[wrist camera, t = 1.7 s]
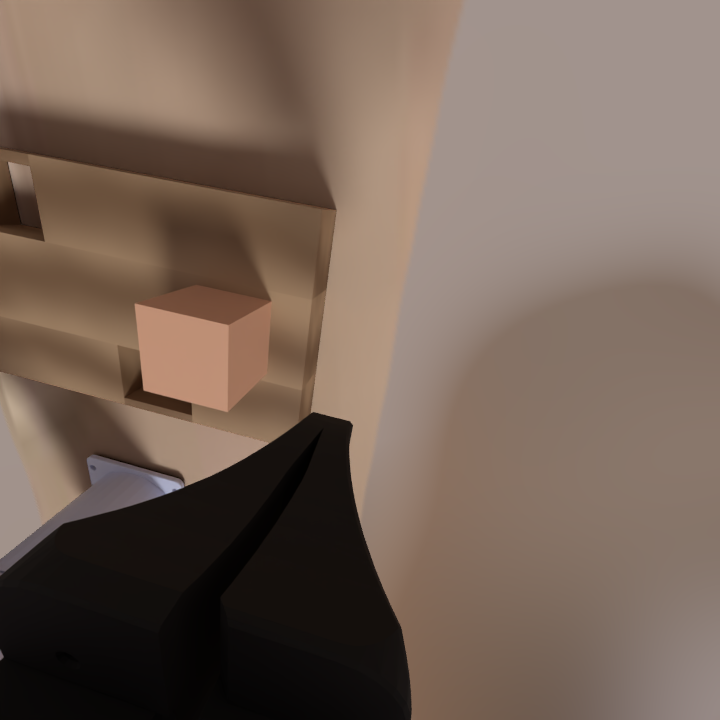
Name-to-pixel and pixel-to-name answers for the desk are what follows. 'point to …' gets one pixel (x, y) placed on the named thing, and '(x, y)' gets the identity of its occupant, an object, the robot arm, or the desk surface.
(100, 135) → the desk surface
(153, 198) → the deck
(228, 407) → the block
